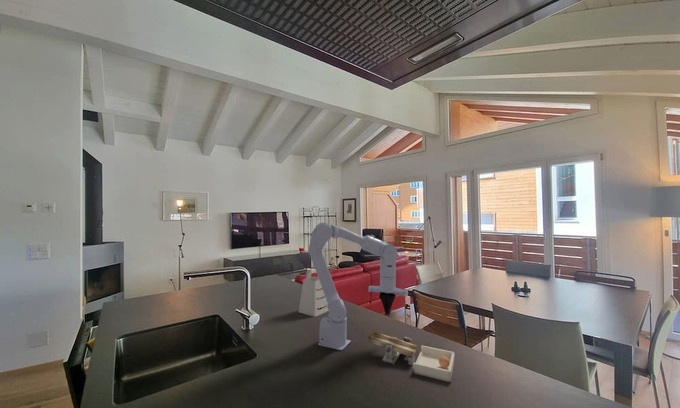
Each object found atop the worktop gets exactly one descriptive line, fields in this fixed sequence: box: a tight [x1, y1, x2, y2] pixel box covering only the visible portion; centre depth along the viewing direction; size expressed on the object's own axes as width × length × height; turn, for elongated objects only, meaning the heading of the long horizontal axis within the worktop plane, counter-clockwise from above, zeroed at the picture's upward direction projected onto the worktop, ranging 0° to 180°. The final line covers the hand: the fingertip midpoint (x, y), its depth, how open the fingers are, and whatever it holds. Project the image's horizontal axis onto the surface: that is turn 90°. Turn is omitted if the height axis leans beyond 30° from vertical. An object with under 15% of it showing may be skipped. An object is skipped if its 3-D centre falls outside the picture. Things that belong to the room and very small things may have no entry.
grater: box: [298, 268, 329, 318], centre depth 140 cm, size 10×10×20 cm
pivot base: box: [381, 336, 416, 366], centre depth 94 cm, size 9×8×5 cm
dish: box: [412, 345, 456, 383], centre depth 89 cm, size 10×13×3 cm
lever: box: [367, 328, 418, 357], centre depth 97 cm, size 15×11×3 cm
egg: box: [439, 356, 450, 368], centre depth 87 cm, size 3×3×3 cm
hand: (387, 313), depth 106 cm, fingers closed
